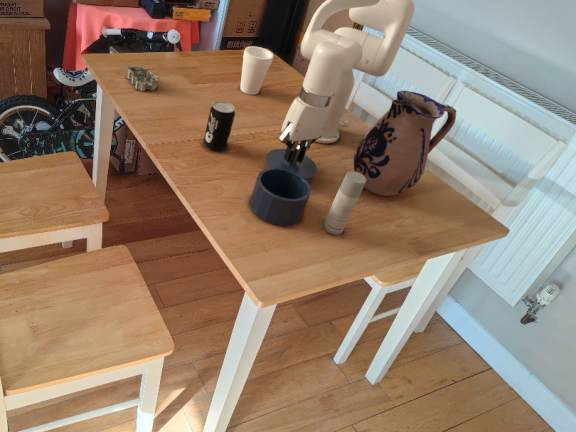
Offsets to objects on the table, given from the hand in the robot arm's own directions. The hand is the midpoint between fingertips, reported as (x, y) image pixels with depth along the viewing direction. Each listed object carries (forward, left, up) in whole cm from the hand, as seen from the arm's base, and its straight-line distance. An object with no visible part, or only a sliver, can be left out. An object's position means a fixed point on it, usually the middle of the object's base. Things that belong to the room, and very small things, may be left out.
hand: (292, 160), depth 133 cm
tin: (+12, +12, -4) cm, 17 cm away
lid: (0, 0, -1) cm, 1 cm away
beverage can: (+14, -16, -4) cm, 22 cm away
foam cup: (-14, -44, -4) cm, 47 cm away
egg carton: (+21, -53, -4) cm, 57 cm away
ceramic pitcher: (-24, +11, -4) cm, 27 cm away
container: (+2, +22, -4) cm, 22 cm away
